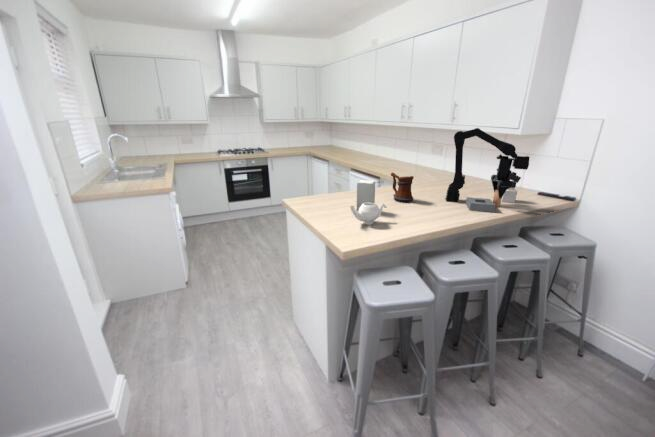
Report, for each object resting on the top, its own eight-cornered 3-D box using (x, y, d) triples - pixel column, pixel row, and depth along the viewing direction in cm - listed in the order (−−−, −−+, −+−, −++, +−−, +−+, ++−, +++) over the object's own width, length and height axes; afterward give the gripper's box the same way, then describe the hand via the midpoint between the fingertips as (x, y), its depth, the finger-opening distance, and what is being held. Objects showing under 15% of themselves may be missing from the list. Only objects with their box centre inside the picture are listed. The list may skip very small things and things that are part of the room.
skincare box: (374, 209, 154) (376, 180, 149) (370, 213, 148) (372, 183, 143) (359, 207, 157) (361, 179, 152) (355, 210, 152) (356, 181, 146)
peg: (492, 206, 162) (496, 191, 159) (491, 204, 166) (494, 189, 163) (500, 207, 161) (504, 191, 158) (498, 205, 165) (502, 190, 162)
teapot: (391, 223, 136) (393, 204, 132) (354, 229, 128) (355, 209, 124) (379, 216, 144) (381, 198, 141) (344, 222, 136) (345, 203, 132)
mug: (382, 196, 179) (384, 172, 174) (396, 194, 184) (399, 170, 179) (402, 204, 164) (405, 178, 159) (417, 201, 170) (420, 176, 164)
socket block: (469, 210, 156) (470, 203, 154) (465, 203, 167) (466, 197, 165) (494, 212, 153) (495, 205, 151) (488, 205, 164) (490, 199, 162)
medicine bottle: (514, 202, 170) (519, 182, 166) (501, 201, 172) (506, 182, 167) (510, 199, 177) (515, 180, 173) (497, 198, 178) (501, 179, 174)
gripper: (527, 172, 146) (519, 201, 151) (515, 165, 163) (508, 192, 168) (503, 170, 148) (496, 199, 154) (493, 164, 165) (487, 191, 171)
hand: (497, 195), depth 162 cm, fingers open, 9 cm apart
